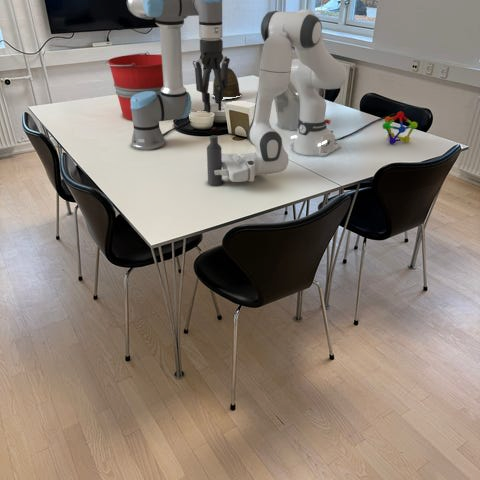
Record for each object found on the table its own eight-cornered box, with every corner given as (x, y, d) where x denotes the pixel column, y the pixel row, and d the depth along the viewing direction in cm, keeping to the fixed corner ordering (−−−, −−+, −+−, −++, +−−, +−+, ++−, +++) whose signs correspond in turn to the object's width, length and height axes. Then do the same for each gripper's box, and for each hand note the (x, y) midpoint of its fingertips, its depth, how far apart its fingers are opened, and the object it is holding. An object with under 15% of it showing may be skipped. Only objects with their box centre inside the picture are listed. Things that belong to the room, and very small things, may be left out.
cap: (206, 111, 155) (206, 105, 154) (207, 108, 158) (207, 102, 157) (218, 112, 155) (218, 106, 154) (218, 108, 158) (218, 102, 157)
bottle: (206, 181, 173) (204, 135, 163) (219, 179, 174) (218, 133, 164) (210, 186, 168) (208, 139, 159) (223, 185, 170) (222, 138, 160)
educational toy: (377, 146, 209) (379, 114, 202) (384, 138, 219) (386, 107, 211) (411, 149, 202) (415, 116, 195) (417, 141, 212) (420, 109, 204)
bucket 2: (296, 138, 215) (301, 78, 201) (255, 124, 234) (256, 68, 219) (335, 125, 232) (342, 70, 217) (294, 113, 251) (297, 61, 236)
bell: (227, 105, 294) (202, 96, 282) (238, 66, 289) (213, 55, 277) (243, 108, 280) (217, 98, 268) (255, 66, 275) (229, 55, 263)
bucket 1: (122, 105, 263) (114, 51, 248) (180, 106, 263) (177, 52, 247) (105, 123, 234) (95, 63, 218) (171, 124, 233) (166, 64, 217)
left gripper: (194, 42, 137) (197, 117, 150) (238, 38, 146) (238, 109, 158) (182, 39, 142) (186, 112, 155) (226, 35, 151) (226, 104, 163)
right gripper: (239, 148, 178) (206, 151, 175) (255, 167, 161) (218, 171, 158) (239, 162, 181) (206, 166, 178) (255, 183, 165) (218, 187, 161)
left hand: (212, 110), depth 157 cm, fingers closed on cap, 4 cm apart
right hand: (212, 168), depth 168 cm, fingers closed on bottle, 5 cm apart
